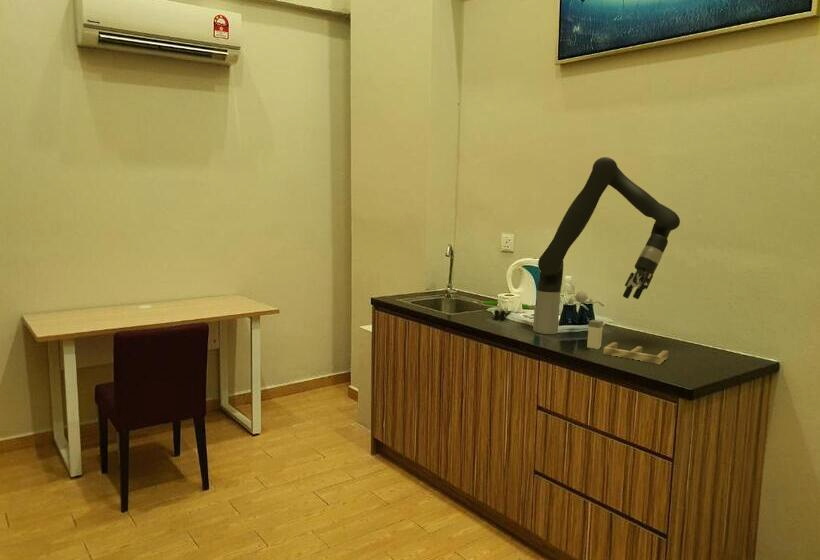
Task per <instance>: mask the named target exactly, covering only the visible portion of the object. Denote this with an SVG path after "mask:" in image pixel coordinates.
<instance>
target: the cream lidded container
mask: <svg viewBox="0 0 820 560" xmlns="http://www.w3.org/2000/svg"><path fill="white" fill-rule="evenodd" d="M603 324H604V321H603V320H598V319H597V320H596V319H591V320H589V321H588V331H587V342H586V344H587V345H586V348H588V349H593V348H594V349H595V350H599V349H600V347H601V348H602V341H603V340H602V338H603V328H604V327H603Z"/></svg>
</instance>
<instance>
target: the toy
mask: <svg viewBox="0 0 820 560" xmlns="http://www.w3.org/2000/svg"><path fill="white" fill-rule="evenodd" d="M574 299H575V300H576V302H577V303H581V304H582V303H583V304H584V303H586V301H587V300H588V299H589V296H588V294H587V293H586V292H585V291H582V290H581V291H577V292H576V294H575V295H574ZM574 299H573V298H572V297H570V298H569V299H568V300H567V304H568V303H573V304H574ZM588 303H592V304H593V305H594V301H593V299H592V298H590V299H589V300H588ZM588 303H587V304H588Z"/></svg>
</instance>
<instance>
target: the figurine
mask: <svg viewBox="0 0 820 560" xmlns="http://www.w3.org/2000/svg"><path fill="white" fill-rule="evenodd" d="M498 302H499V301H489V300H488V301H487V300H485V301H482V300H478V301H476V304H477V305H479V306H483V305H485V306H495V307H497V308H496V309H495V310H494V312H493V314H494V317H493V318H494V320H495V321H498V320H499V319H500V321H505V319H506V317H505V316H506V315H507V312H508V308H506V307H505V308H504V309H502V307H501V306H500V305H499V306H497V304H498ZM521 304H522V308H521V309H530V310H533V311H534V309H535V308H536V306H537V305H532V304H531V305H529V304H526V303H525V304H524V303H521ZM508 313H509V312H508ZM499 317H500V318H499Z"/></svg>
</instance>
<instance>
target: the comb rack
mask: <svg viewBox="0 0 820 560" xmlns="http://www.w3.org/2000/svg"><path fill="white" fill-rule="evenodd" d="M618 345H619V342H615V341H613V342H611V343H609V344H608V345H605V346H604V347H603V354H604V355H603V354H602V355H603V356H609V355H611V356H610V357H614V356H618V357H617V358H620V357H623V358H622V359H626V358H628V359H627V360H632V359H634V360H633V361H637V360H640V361H639V362H643V361H644V362H643V363H650V364H654V363H655V364H656V365H661V364H662V363H664V362H665V361H666V360H667V359H668V358H669V350H662V351H661V352H660V353H658V354H657V355H656V354H650V353H643V346H641V345H640V346H639V345H637V346H636V347H634V348H633V349H631V350H626V349H619V348H618ZM664 360H665V361H664Z"/></svg>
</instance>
